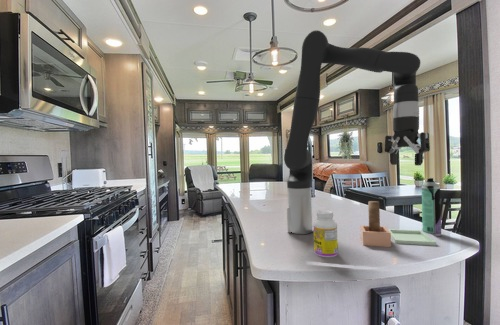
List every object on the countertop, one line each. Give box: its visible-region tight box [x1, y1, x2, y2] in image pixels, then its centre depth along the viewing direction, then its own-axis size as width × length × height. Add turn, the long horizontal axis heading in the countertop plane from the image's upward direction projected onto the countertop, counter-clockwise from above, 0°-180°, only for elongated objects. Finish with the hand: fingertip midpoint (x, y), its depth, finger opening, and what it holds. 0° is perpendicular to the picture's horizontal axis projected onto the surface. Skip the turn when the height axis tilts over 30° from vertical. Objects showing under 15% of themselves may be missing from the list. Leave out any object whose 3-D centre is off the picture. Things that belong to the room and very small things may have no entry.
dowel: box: [367, 200, 381, 232], centre depth 83 cm, size 3×3×13 cm
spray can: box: [421, 177, 442, 237], centre depth 92 cm, size 6×6×20 cm
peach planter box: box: [359, 224, 392, 248], centre depth 83 cm, size 8×8×5 cm
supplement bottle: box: [312, 209, 339, 258], centre depth 75 cm, size 7×7×13 cm
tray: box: [387, 228, 437, 247], centre depth 85 cm, size 11×13×2 cm
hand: (405, 165), depth 86 cm, fingers open, 8 cm apart
